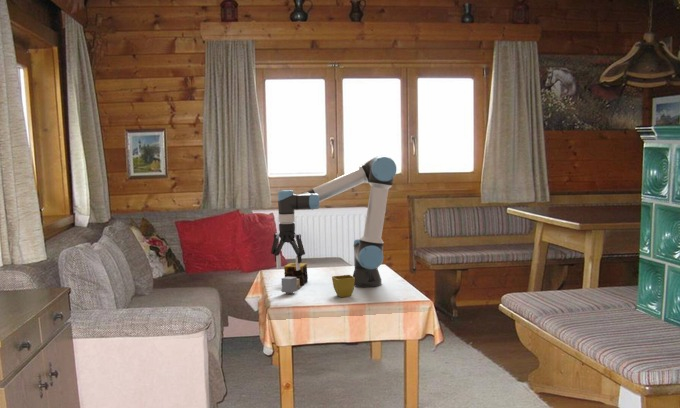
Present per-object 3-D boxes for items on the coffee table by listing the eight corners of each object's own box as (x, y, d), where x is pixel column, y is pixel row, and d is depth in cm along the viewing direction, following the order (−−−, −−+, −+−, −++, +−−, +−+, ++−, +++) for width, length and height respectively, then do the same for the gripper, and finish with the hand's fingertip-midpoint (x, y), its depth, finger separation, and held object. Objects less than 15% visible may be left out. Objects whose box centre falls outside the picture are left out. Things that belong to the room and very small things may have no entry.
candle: (303, 286, 321) (302, 266, 320) (284, 285, 323) (283, 266, 322) (308, 282, 331) (307, 263, 330) (289, 281, 333) (288, 262, 332)
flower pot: (337, 298, 289) (336, 279, 289) (332, 295, 298) (331, 276, 297) (355, 297, 292) (355, 277, 291) (350, 293, 300) (349, 274, 300)
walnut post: (293, 293, 304) (292, 278, 303) (290, 294, 302) (289, 279, 301) (288, 292, 305) (287, 278, 305) (285, 294, 303) (285, 279, 302)
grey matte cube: (291, 292, 300) (290, 279, 299) (281, 292, 302) (281, 278, 302) (296, 290, 305) (296, 277, 304) (287, 290, 307) (287, 276, 306)
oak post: (299, 288, 314) (299, 278, 313) (297, 289, 311) (296, 279, 311) (295, 288, 315) (295, 278, 314) (292, 289, 313) (292, 279, 312)
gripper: (311, 222, 299) (313, 269, 301) (270, 221, 309) (272, 266, 311) (303, 224, 292) (305, 272, 294) (262, 223, 303) (264, 269, 304)
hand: (288, 269), depth 302 cm, fingers open, 10 cm apart
